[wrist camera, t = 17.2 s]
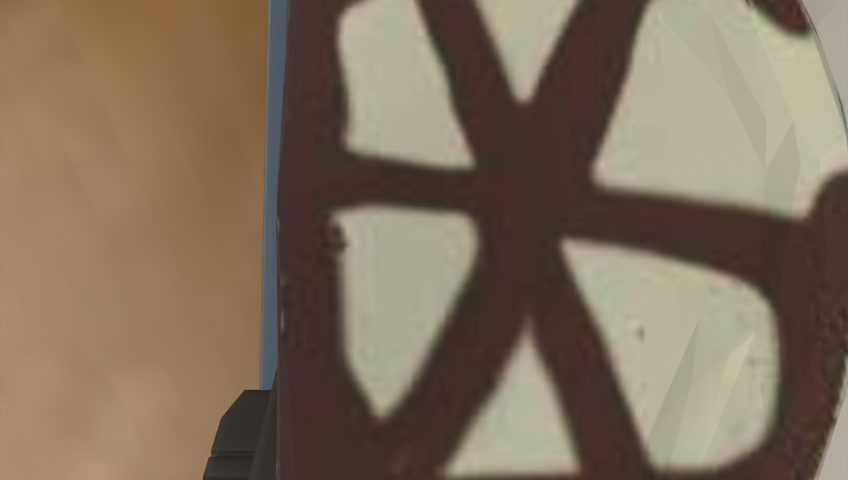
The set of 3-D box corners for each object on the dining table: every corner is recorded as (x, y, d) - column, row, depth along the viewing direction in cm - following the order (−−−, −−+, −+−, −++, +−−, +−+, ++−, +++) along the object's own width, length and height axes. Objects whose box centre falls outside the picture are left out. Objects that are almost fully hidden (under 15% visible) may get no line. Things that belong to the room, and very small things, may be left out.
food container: (698, 620, 15) (1108, 1065, 6) (375, 616, 16) (217, 1030, 6) (663, 8, 17) (918, -471, 7) (377, 16, 18) (260, -432, 8)
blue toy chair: (674, 599, 23) (1040, 1025, 8) (324, 596, 24) (77, 991, 9) (643, 0, 26) (876, -491, 11) (330, 11, 26) (148, -444, 11)
